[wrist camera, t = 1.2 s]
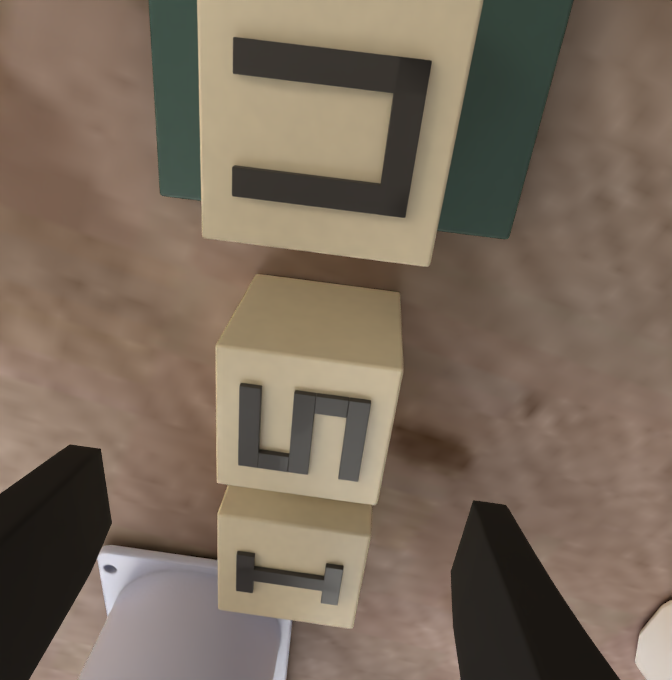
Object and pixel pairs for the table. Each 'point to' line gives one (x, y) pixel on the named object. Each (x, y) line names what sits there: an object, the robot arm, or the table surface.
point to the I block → (291, 555)
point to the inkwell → (656, 645)
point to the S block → (308, 388)
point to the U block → (331, 121)
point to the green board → (474, 125)
